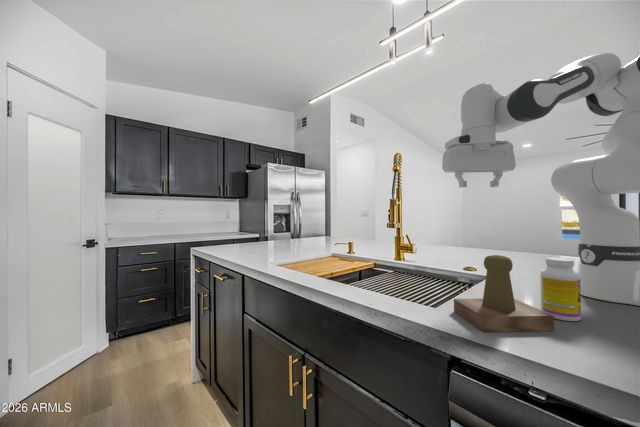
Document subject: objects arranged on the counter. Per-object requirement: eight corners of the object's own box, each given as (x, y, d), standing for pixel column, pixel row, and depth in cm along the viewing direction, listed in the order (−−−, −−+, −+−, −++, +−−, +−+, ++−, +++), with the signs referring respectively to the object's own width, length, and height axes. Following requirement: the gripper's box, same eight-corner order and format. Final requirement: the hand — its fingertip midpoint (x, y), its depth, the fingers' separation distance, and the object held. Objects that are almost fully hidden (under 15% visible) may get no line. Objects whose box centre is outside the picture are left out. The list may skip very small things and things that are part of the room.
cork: (522, 312, 53) (521, 258, 54) (490, 311, 54) (489, 257, 54) (505, 302, 59) (504, 253, 60) (477, 301, 60) (476, 253, 60)
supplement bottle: (585, 325, 54) (584, 262, 54) (544, 318, 58) (543, 260, 58) (576, 314, 60) (575, 258, 60) (538, 309, 63) (537, 255, 63)
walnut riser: (512, 310, 62) (512, 298, 62) (554, 331, 51) (553, 315, 51) (453, 311, 62) (453, 298, 62) (483, 332, 51) (482, 316, 51)
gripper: (505, 143, 81) (505, 187, 81) (439, 144, 81) (440, 188, 81) (520, 137, 75) (521, 185, 75) (449, 137, 75) (450, 186, 75)
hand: (478, 187), depth 78 cm, fingers open, 8 cm apart
